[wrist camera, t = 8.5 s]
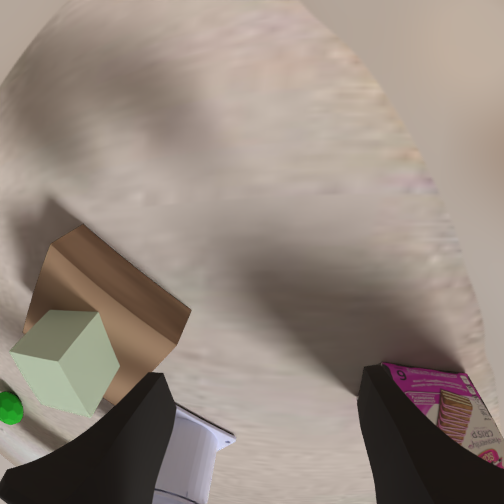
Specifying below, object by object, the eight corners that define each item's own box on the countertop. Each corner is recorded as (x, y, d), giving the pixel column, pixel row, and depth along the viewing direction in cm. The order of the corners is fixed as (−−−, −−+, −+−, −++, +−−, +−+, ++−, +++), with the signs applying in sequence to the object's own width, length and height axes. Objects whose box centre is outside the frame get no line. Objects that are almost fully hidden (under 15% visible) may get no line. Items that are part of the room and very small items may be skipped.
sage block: (120, 366, 19) (91, 418, 14) (72, 360, 19) (40, 404, 15) (98, 311, 17) (58, 361, 13) (49, 309, 18) (9, 351, 13)
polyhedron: (21, 392, 29) (4, 414, 25) (33, 414, 31) (19, 435, 27) (-1, 380, 30) (-17, 400, 25) (11, 402, 31) (-3, 422, 27)
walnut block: (133, 376, 25) (117, 407, 21) (47, 308, 23) (22, 332, 19) (191, 310, 21) (176, 345, 18) (83, 224, 19) (50, 244, 16)
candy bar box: (468, 369, 23) (535, 500, 7) (441, 404, 24) (489, 531, 9) (380, 357, 22) (438, 546, 7) (353, 397, 24) (383, 568, 9)
